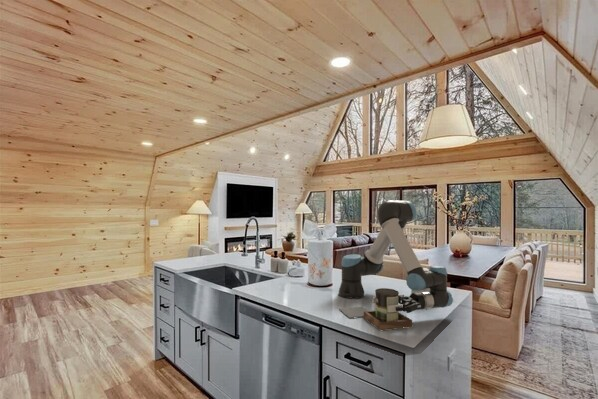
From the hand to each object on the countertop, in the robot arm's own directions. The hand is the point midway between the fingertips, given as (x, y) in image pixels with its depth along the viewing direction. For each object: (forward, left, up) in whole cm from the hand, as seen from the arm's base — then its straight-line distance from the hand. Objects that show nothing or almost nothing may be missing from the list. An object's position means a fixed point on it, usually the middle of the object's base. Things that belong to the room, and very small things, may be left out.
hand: (380, 304), depth 137 cm
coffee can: (0, +3, -9) cm, 9 cm away
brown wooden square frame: (0, +3, -8) cm, 9 cm away
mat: (-15, -5, -8) cm, 18 cm away
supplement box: (-28, +42, -9) cm, 52 cm away
